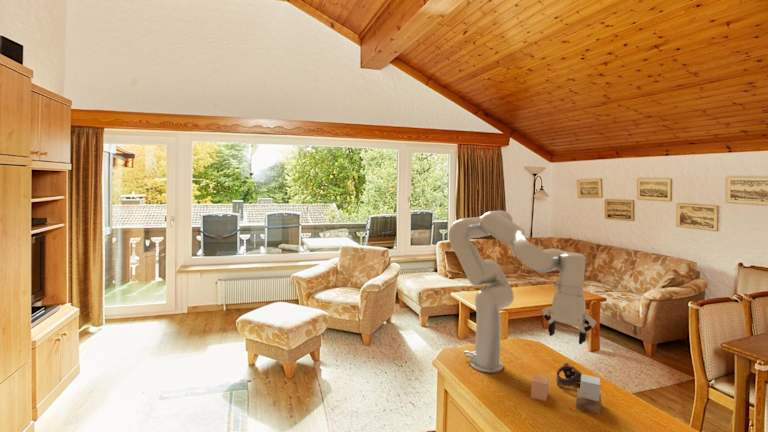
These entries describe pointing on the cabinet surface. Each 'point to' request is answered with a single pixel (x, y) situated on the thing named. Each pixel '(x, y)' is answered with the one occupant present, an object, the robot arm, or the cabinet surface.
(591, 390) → the greyblue cube
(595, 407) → the tan cardboard-coloured box
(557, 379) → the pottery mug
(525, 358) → the cabinet surface
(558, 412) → the cabinet surface
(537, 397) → the terracotta block
